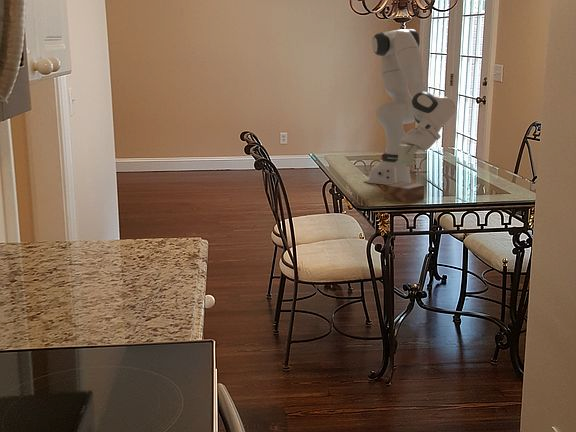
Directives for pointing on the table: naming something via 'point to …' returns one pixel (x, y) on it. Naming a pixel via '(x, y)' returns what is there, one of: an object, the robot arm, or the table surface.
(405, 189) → the walnut riser
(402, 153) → the sage block
